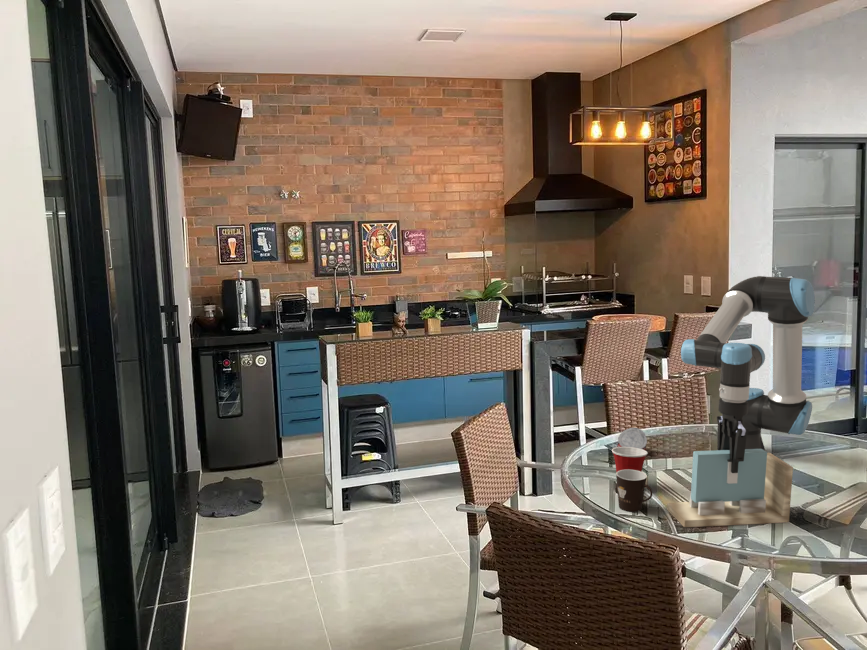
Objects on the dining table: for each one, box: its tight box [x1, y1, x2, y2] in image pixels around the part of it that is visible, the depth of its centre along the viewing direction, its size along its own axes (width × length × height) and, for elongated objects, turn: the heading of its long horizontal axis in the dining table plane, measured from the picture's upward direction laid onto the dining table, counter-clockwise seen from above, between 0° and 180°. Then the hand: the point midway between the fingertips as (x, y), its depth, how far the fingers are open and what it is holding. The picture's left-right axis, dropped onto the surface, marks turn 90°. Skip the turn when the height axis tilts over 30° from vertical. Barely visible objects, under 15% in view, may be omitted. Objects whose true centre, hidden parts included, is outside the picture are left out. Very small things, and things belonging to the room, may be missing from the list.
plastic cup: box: [611, 446, 649, 473], centre depth 231 cm, size 11×11×12 cm
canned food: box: [616, 427, 648, 451], centre depth 262 cm, size 11×10×10 cm
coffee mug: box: [615, 469, 653, 513], centre depth 214 cm, size 12×9×10 cm
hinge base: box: [666, 452, 794, 528], centre depth 208 cm, size 30×12×16 cm, turn 95°
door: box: [690, 449, 768, 503], centre depth 208 cm, size 20×3×14 cm, turn 95°
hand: (728, 480), depth 208 cm, fingers closed on door, 3 cm apart
